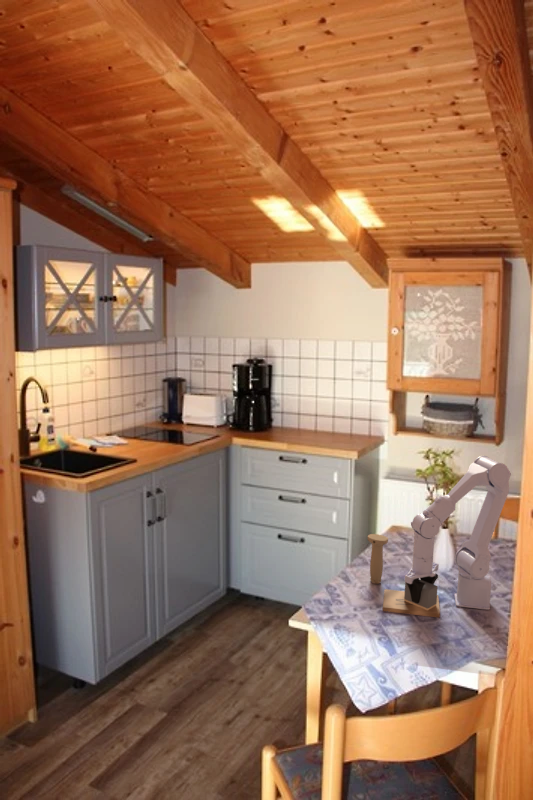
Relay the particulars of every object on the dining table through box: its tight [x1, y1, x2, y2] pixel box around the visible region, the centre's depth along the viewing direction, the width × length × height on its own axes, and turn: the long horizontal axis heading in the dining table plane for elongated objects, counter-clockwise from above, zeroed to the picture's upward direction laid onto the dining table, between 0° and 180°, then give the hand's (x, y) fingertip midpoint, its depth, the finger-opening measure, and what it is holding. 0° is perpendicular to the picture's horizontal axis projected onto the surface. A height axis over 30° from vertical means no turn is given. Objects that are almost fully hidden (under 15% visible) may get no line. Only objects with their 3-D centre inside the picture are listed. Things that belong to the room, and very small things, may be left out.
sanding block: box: [404, 578, 438, 611], centre depth 194 cm, size 8×5×6 cm, turn 44°
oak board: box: [382, 588, 441, 618], centre depth 196 cm, size 16×12×1 cm
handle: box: [367, 533, 389, 585], centre depth 210 cm, size 5×6×15 cm
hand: (420, 599), depth 194 cm, fingers closed on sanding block, 5 cm apart
